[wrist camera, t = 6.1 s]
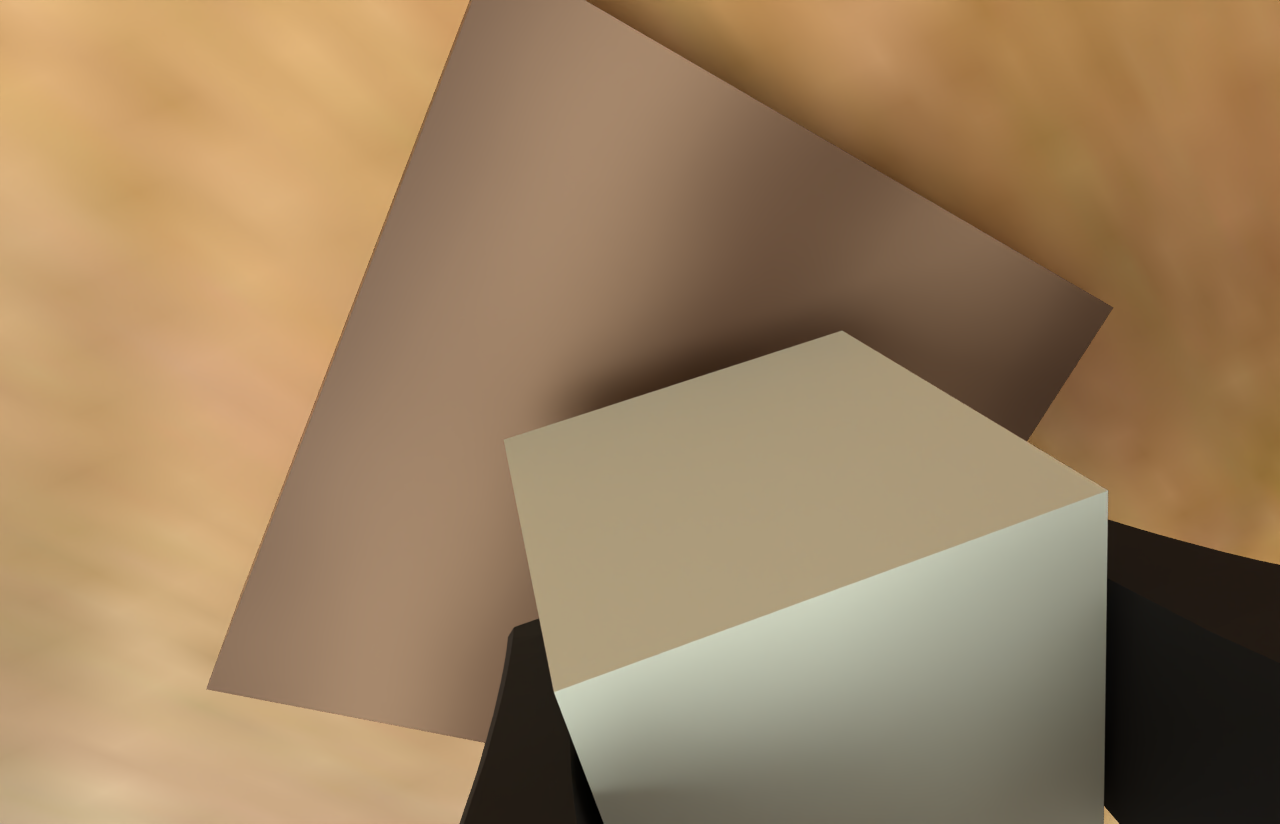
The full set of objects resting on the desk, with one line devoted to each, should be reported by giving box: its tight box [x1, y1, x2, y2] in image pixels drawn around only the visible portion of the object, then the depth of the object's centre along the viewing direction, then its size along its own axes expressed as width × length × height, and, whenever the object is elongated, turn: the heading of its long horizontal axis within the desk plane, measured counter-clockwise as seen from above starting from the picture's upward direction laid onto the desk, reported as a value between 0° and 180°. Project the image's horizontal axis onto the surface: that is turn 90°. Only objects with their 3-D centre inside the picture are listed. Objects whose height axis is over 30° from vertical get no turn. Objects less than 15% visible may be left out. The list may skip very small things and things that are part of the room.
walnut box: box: [207, 0, 1113, 743], centre depth 15 cm, size 12×12×3 cm
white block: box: [504, 331, 1108, 824], centre depth 10 cm, size 5×5×5 cm
